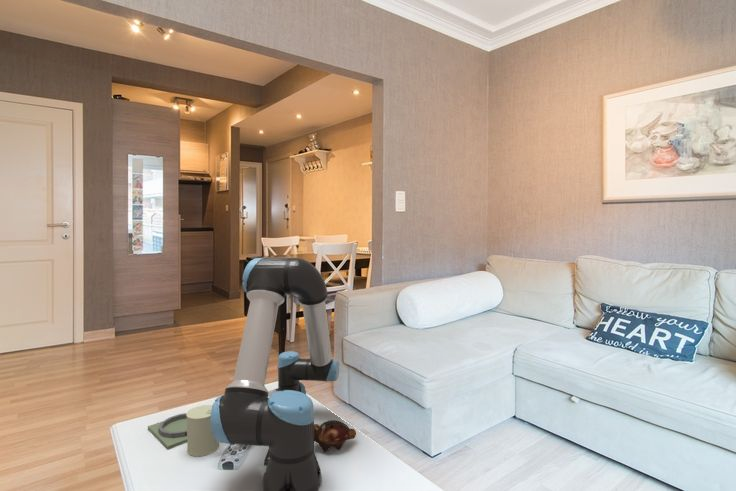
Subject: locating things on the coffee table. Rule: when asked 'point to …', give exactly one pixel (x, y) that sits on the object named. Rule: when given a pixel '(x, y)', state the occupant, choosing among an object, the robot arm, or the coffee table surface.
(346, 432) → the decorative turtle
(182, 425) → the deck mount
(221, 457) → the coffee table surface
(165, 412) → the coffee table surface
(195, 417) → the can
